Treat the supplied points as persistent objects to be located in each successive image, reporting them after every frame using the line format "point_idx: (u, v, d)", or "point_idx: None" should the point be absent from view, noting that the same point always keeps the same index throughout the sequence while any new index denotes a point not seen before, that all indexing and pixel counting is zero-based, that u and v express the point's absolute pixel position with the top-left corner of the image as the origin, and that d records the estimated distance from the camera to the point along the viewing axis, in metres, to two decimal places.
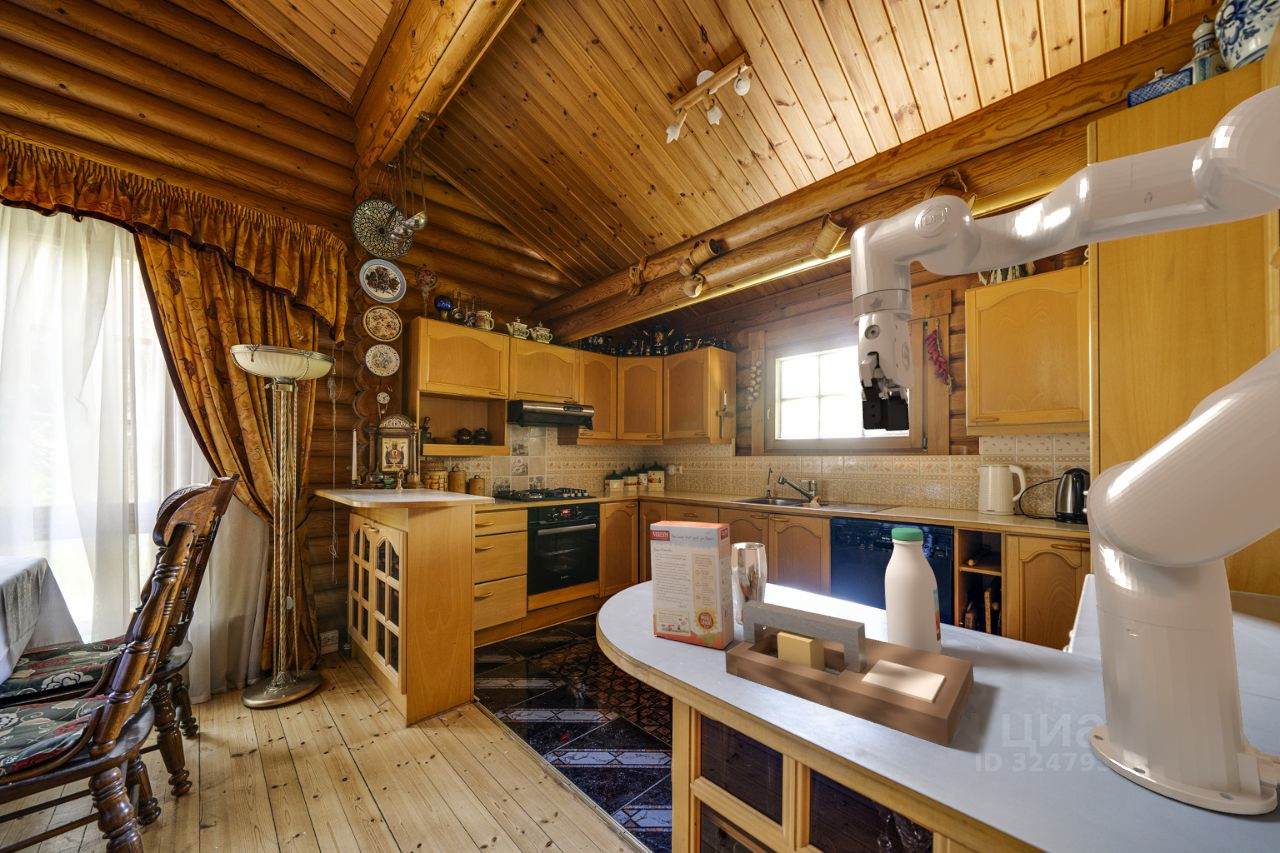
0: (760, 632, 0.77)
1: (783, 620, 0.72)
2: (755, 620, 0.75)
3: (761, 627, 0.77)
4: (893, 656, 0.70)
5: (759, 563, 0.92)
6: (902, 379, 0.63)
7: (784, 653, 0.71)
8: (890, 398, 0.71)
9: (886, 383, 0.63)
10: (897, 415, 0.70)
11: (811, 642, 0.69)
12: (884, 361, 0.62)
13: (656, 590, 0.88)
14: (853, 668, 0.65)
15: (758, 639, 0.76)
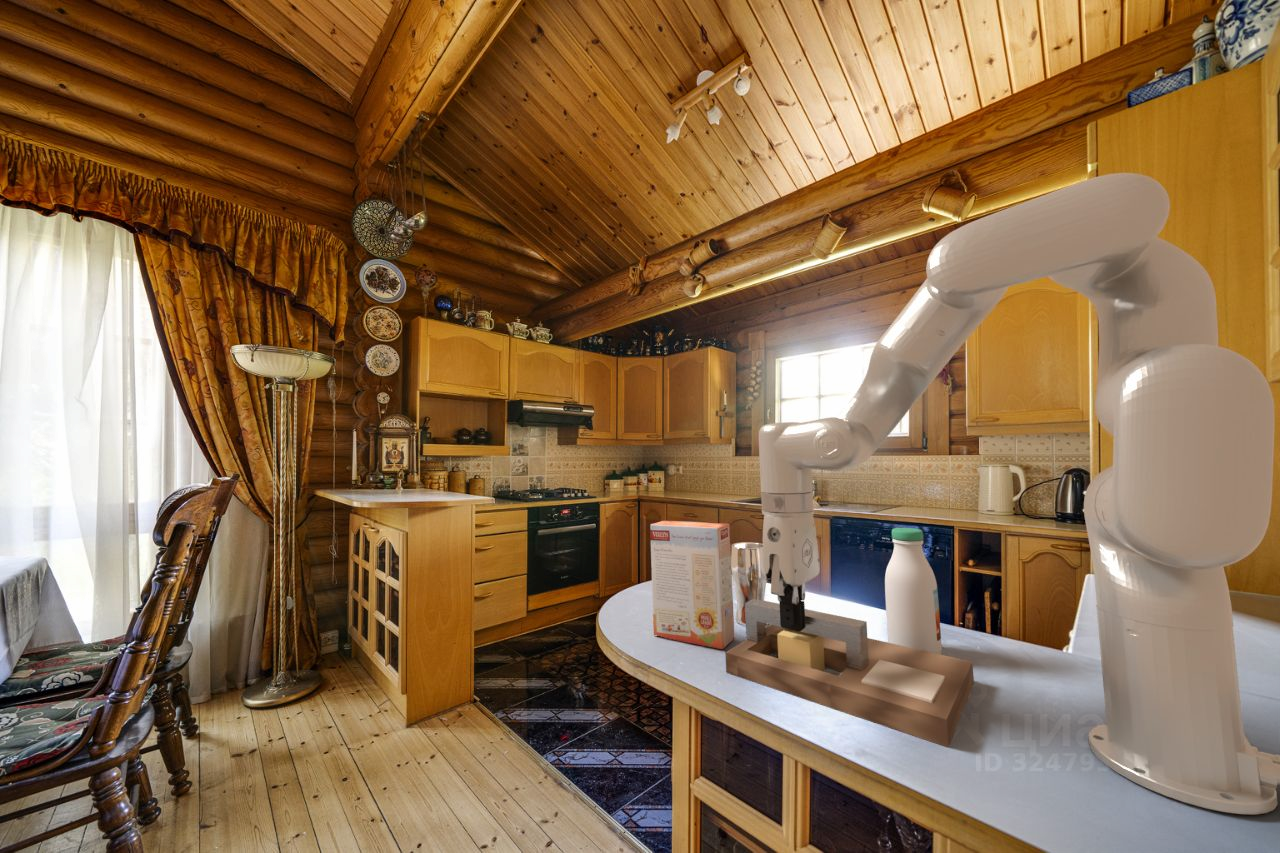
0: (763, 630, 0.78)
1: None
2: (758, 618, 0.76)
3: (763, 625, 0.78)
4: (893, 656, 0.70)
5: (759, 563, 0.92)
6: (802, 580, 0.67)
7: (784, 653, 0.71)
8: (789, 590, 0.72)
9: (795, 587, 0.69)
10: None
11: (811, 642, 0.69)
12: (783, 566, 0.66)
13: (656, 590, 0.88)
14: (855, 666, 0.66)
15: (761, 637, 0.77)
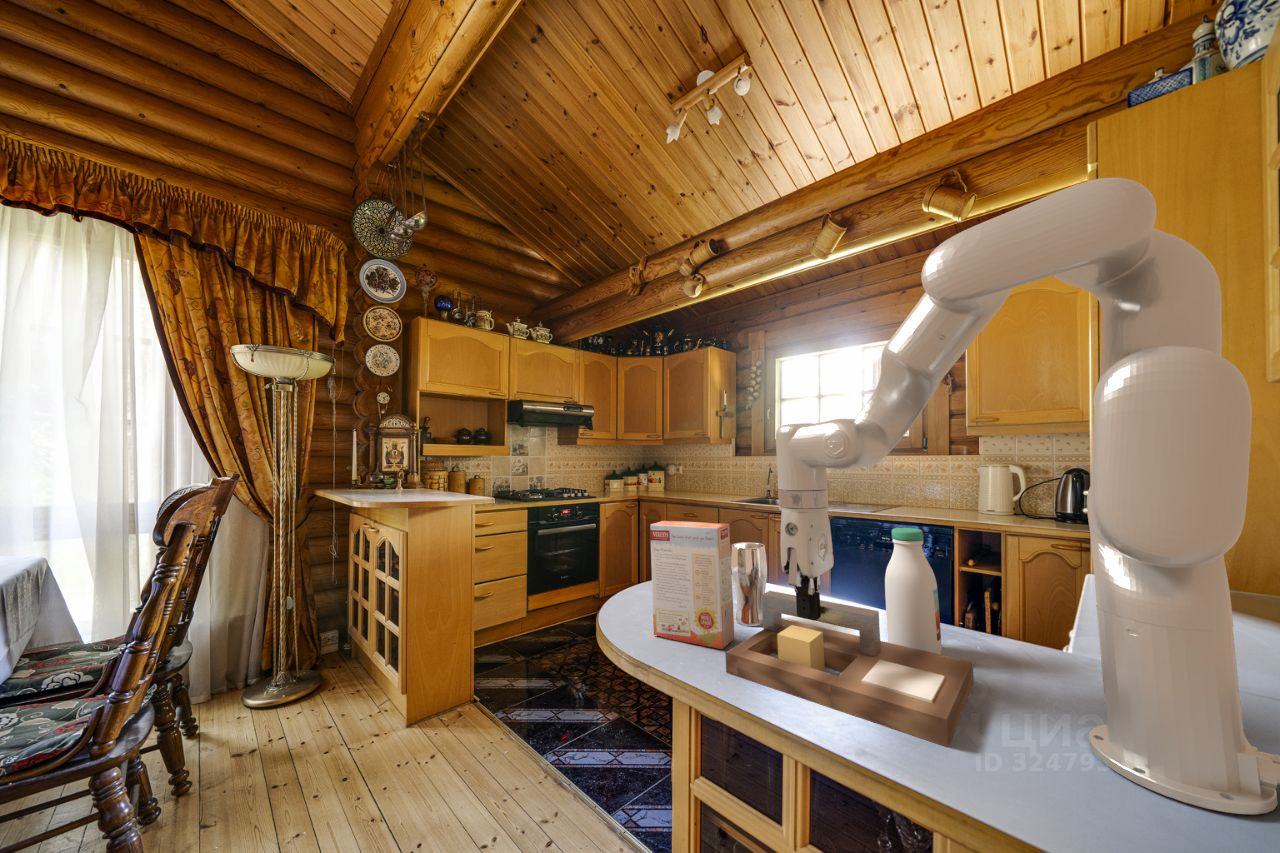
0: (779, 620, 0.82)
1: None
2: (774, 609, 0.80)
3: (779, 616, 0.82)
4: (893, 656, 0.70)
5: (759, 563, 0.92)
6: (818, 572, 0.71)
7: (784, 653, 0.71)
8: None
9: (811, 578, 0.73)
10: None
11: (811, 642, 0.69)
12: (801, 559, 0.70)
13: (656, 590, 0.88)
14: (868, 652, 0.70)
15: (777, 627, 0.81)
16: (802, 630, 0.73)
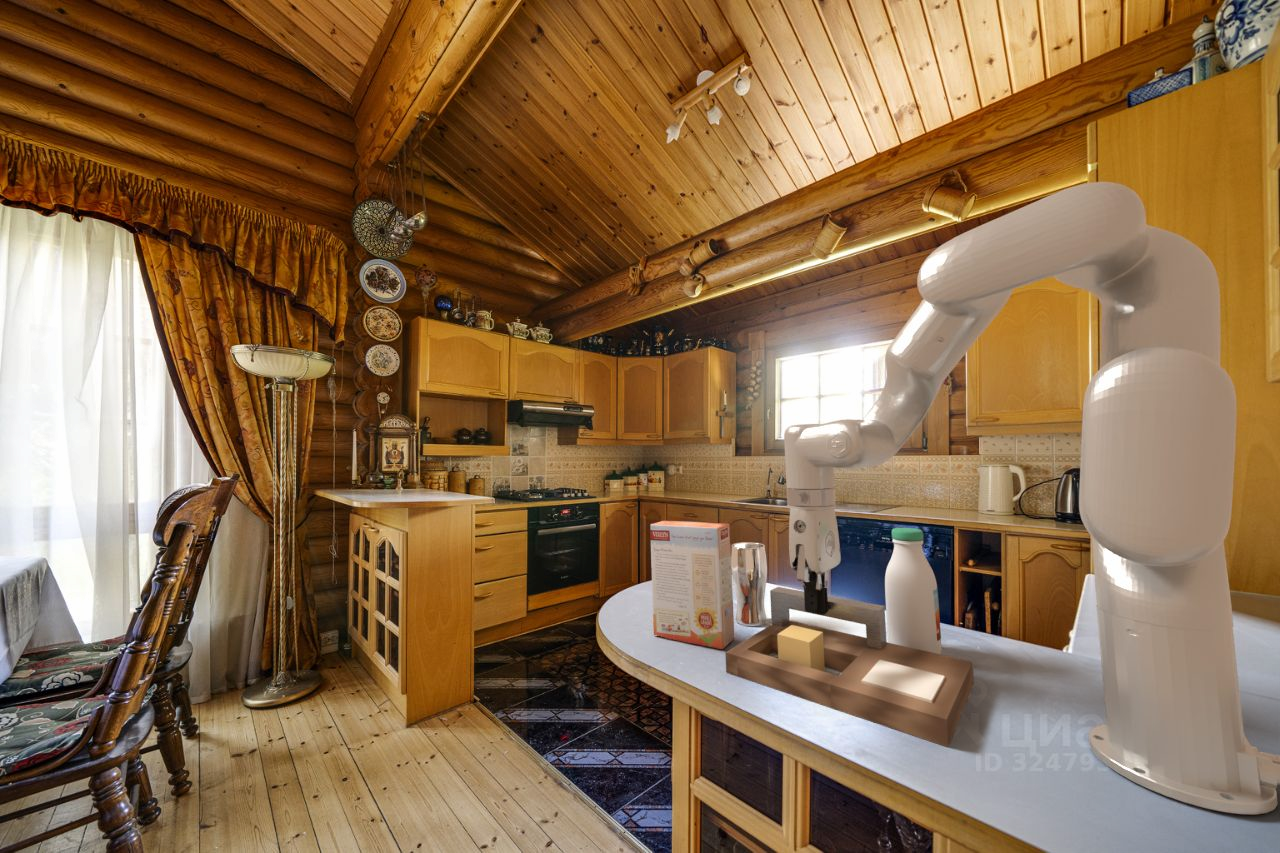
0: (787, 616, 0.84)
1: None
2: (782, 605, 0.82)
3: (787, 611, 0.84)
4: (893, 656, 0.70)
5: (759, 563, 0.92)
6: (825, 568, 0.74)
7: (784, 653, 0.71)
8: None
9: (819, 574, 0.75)
10: None
11: (811, 642, 0.69)
12: (809, 555, 0.73)
13: (656, 590, 0.88)
14: (875, 646, 0.72)
15: (785, 622, 0.83)
16: (802, 630, 0.73)
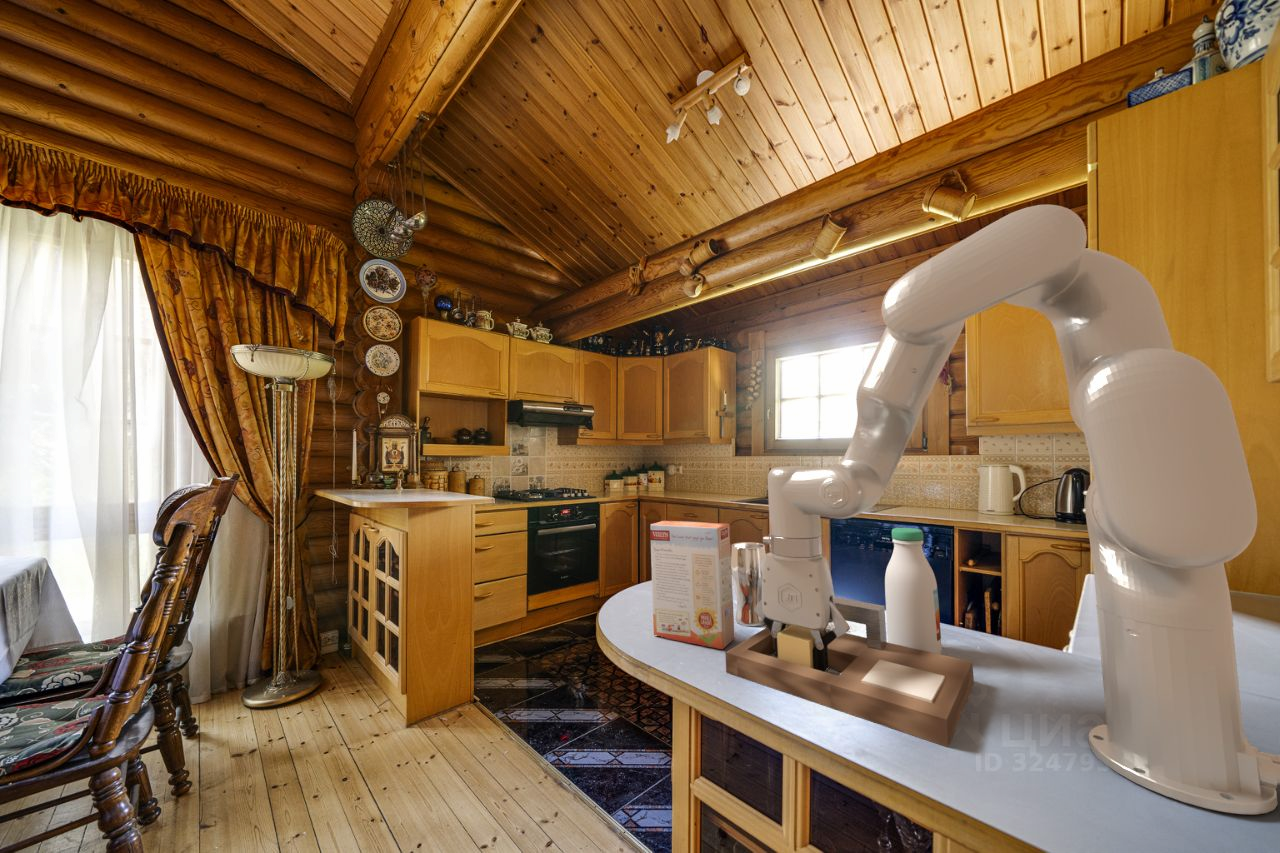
0: None
1: None
2: None
3: None
4: (893, 656, 0.70)
5: (759, 563, 0.92)
6: (776, 617, 0.72)
7: (784, 652, 0.71)
8: (822, 636, 0.70)
9: (777, 622, 0.73)
10: None
11: (811, 641, 0.69)
12: None
13: (656, 590, 0.88)
14: (875, 646, 0.72)
15: None
16: (802, 630, 0.73)
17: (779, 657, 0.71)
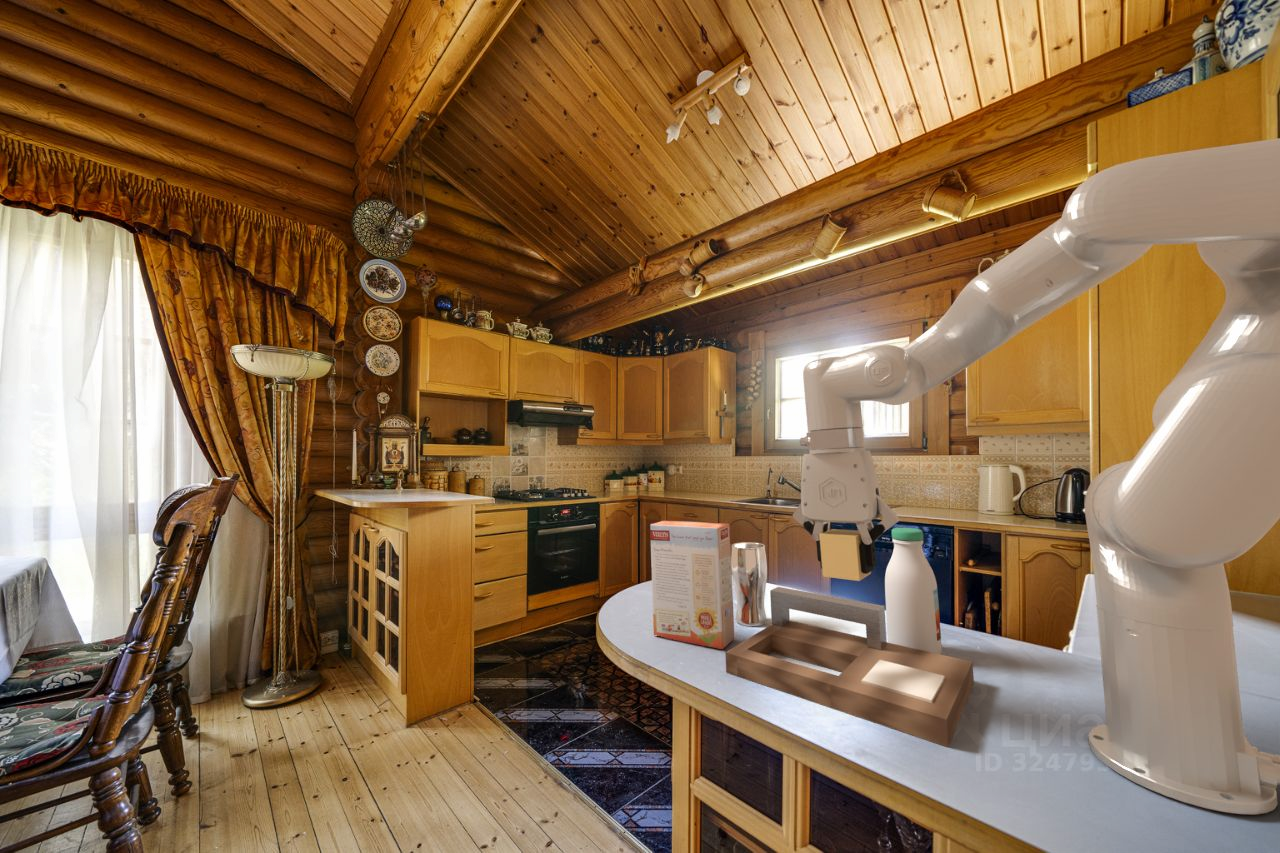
0: (787, 616, 0.84)
1: (809, 604, 0.79)
2: (782, 605, 0.82)
3: (787, 611, 0.84)
4: (893, 656, 0.70)
5: (759, 563, 0.92)
6: (818, 516, 0.68)
7: (828, 552, 0.67)
8: None
9: (818, 523, 0.69)
10: None
11: (857, 537, 0.65)
12: None
13: (656, 590, 0.88)
14: (875, 646, 0.72)
15: (785, 622, 0.83)
16: (845, 531, 0.69)
17: (822, 558, 0.67)
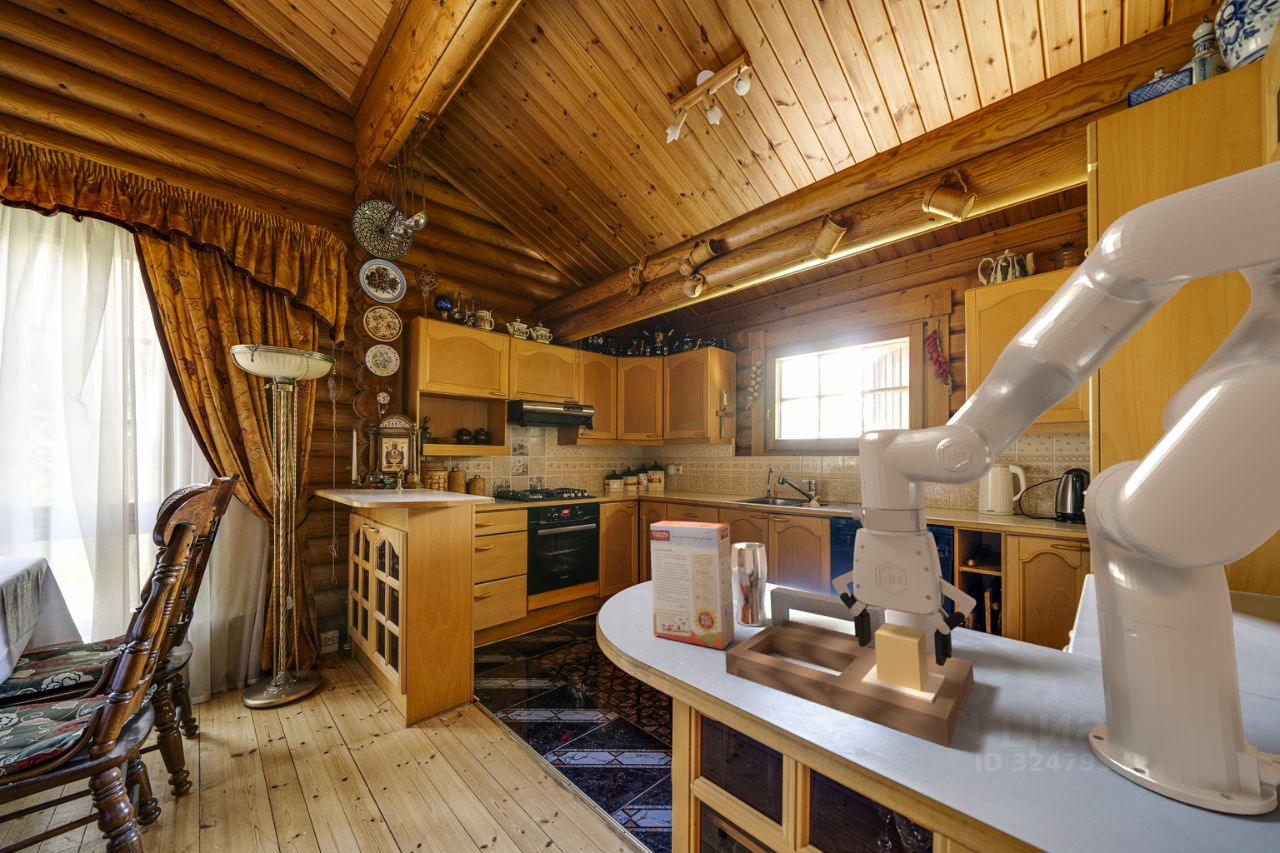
0: (787, 616, 0.84)
1: (809, 604, 0.79)
2: (782, 605, 0.82)
3: (787, 611, 0.84)
4: None
5: (759, 563, 0.92)
6: (873, 601, 0.62)
7: (884, 655, 0.61)
8: None
9: None
10: None
11: (919, 641, 0.60)
12: None
13: (656, 590, 0.88)
14: None
15: (785, 622, 0.83)
16: (901, 628, 0.64)
17: (878, 660, 0.62)
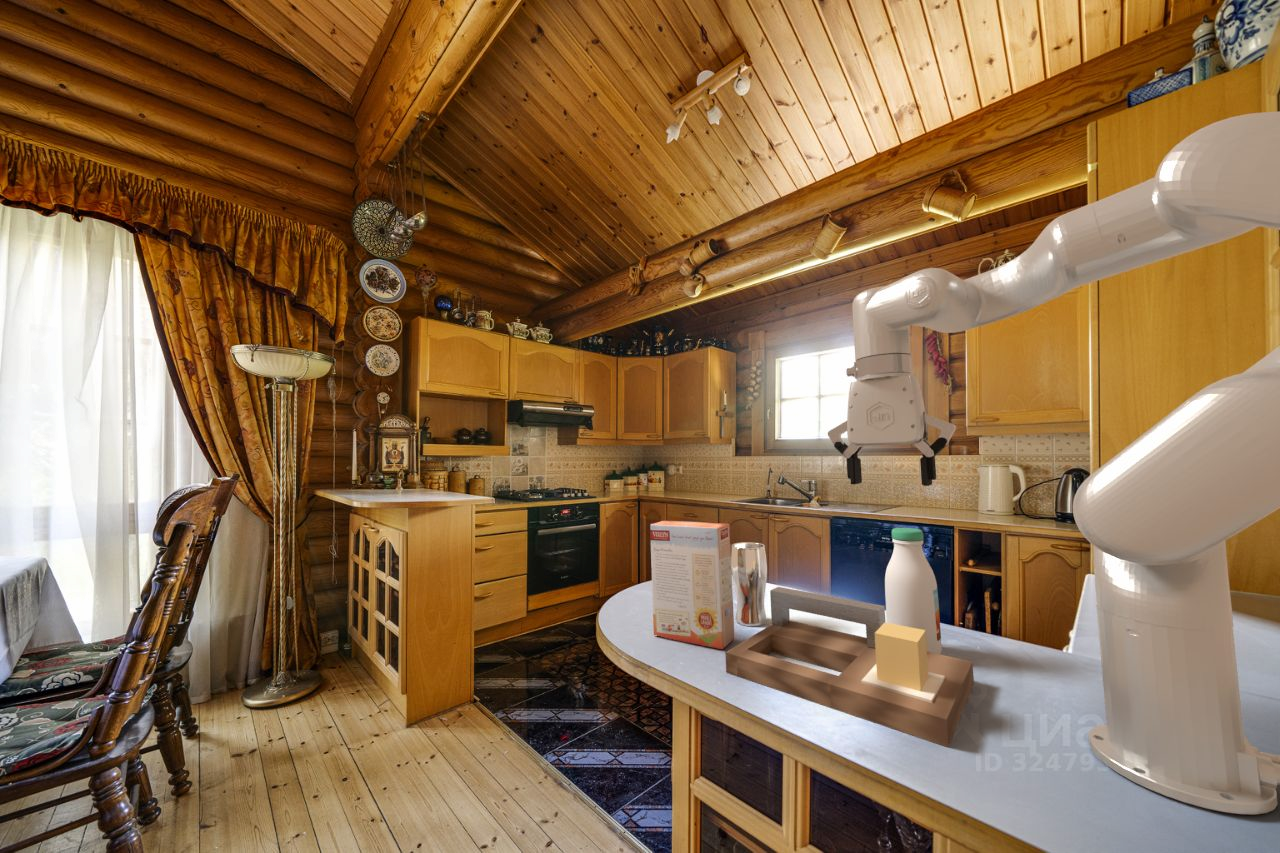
0: (787, 616, 0.84)
1: (809, 604, 0.79)
2: (782, 605, 0.82)
3: (787, 611, 0.84)
4: None
5: (759, 563, 0.92)
6: (864, 440, 0.70)
7: (884, 655, 0.61)
8: None
9: (854, 444, 0.73)
10: None
11: (919, 641, 0.60)
12: None
13: (656, 590, 0.88)
14: None
15: (785, 622, 0.83)
16: (901, 628, 0.64)
17: (878, 660, 0.62)
